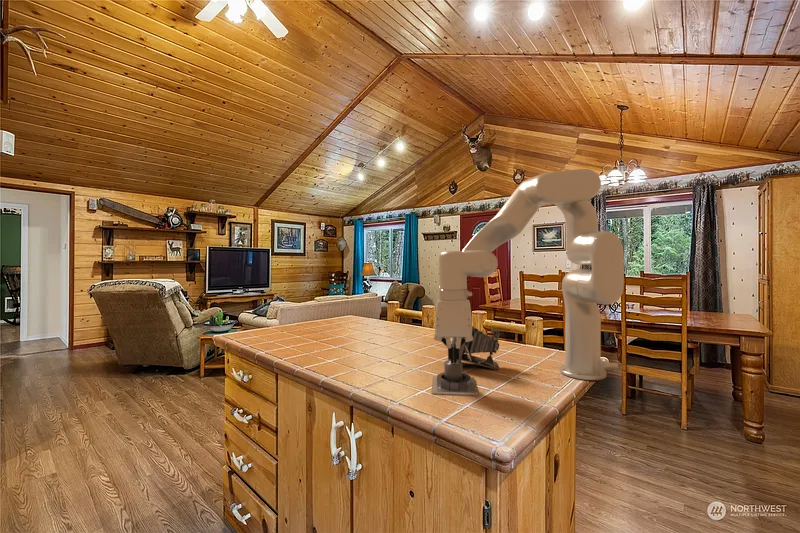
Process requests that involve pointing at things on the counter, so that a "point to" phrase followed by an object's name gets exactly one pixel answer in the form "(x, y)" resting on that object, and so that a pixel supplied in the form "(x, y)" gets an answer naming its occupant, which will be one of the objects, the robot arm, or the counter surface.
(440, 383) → the mount
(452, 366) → the dark grey cylinder
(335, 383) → the counter surface
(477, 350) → the camera
